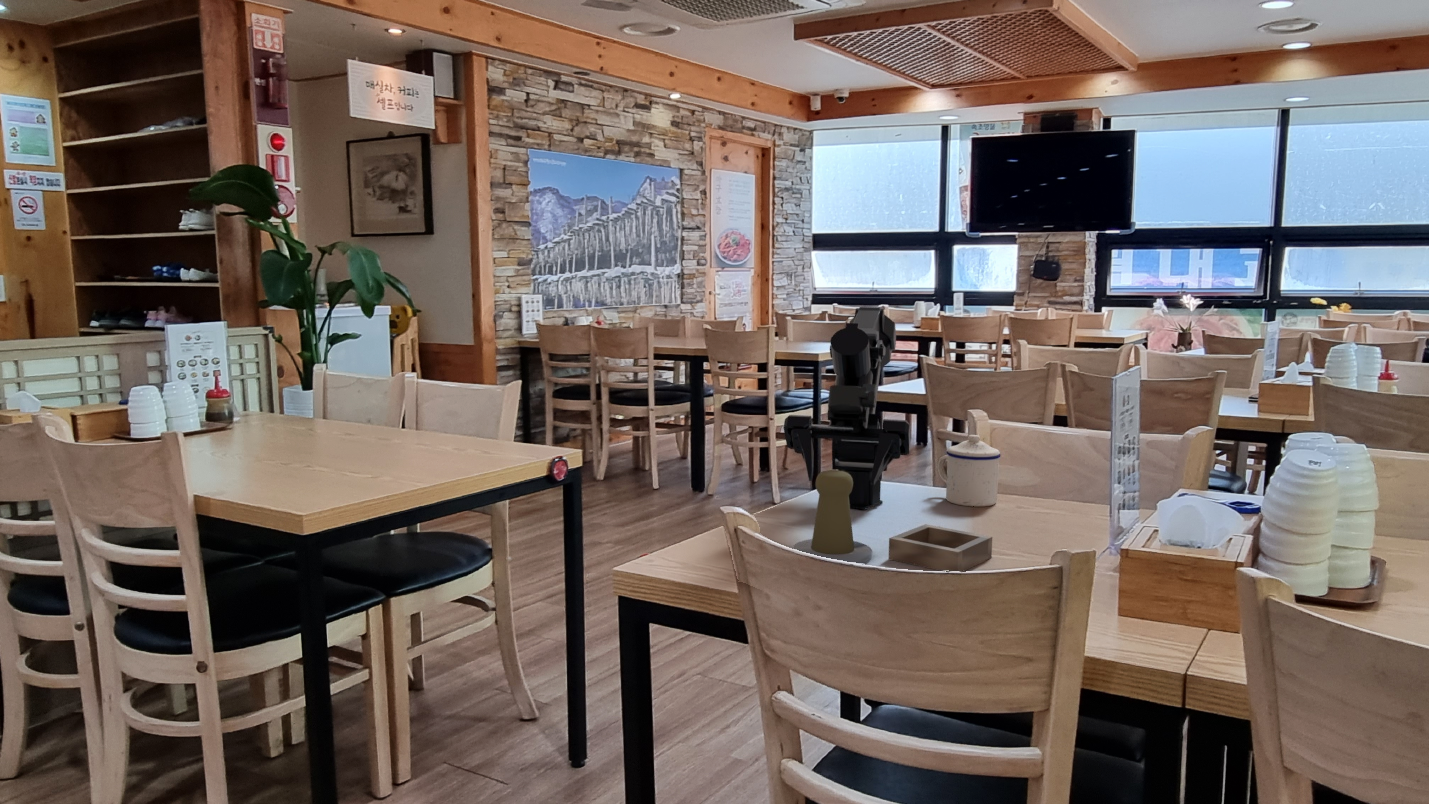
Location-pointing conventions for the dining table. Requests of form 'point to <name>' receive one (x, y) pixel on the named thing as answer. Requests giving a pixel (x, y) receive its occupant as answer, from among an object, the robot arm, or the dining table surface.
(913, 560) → the walnut collar
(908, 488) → the dining table surface
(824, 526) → the olive game pawn
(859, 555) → the slate coaster
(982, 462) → the teacup with lid
